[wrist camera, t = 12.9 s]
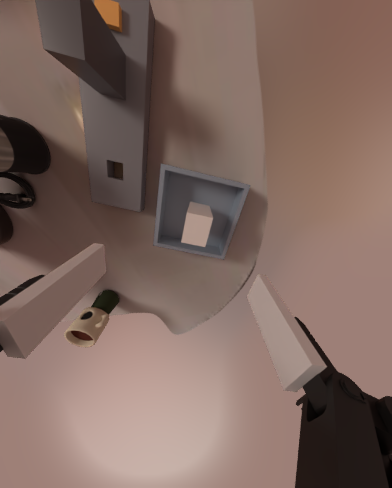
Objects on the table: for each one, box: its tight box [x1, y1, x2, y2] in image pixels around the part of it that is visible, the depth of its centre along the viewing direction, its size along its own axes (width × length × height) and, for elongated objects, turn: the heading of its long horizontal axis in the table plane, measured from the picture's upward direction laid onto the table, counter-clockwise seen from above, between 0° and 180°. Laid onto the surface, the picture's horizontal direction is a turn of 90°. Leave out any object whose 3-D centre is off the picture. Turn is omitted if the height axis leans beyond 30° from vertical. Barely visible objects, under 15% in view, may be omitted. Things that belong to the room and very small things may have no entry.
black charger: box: [35, 0, 126, 101], centre depth 18 cm, size 5×4×11 cm
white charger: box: [181, 202, 213, 247], centre depth 27 cm, size 5×4×11 cm
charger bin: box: [153, 164, 250, 260], centre depth 31 cm, size 16×16×5 cm
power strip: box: [79, 0, 155, 212], centre depth 25 cm, size 28×10×3 cm, turn 168°
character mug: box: [64, 290, 119, 347], centre depth 39 cm, size 11×7×13 cm, turn 116°
